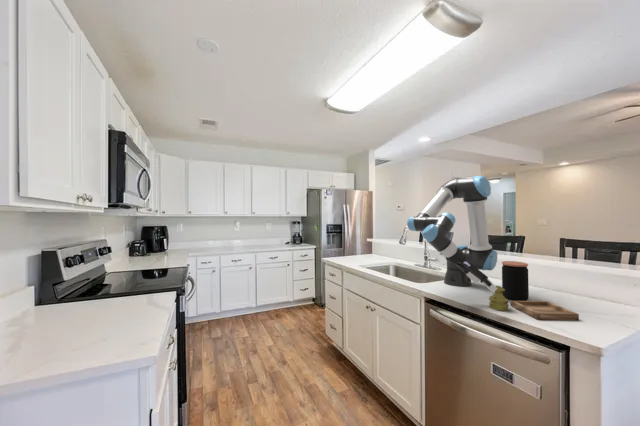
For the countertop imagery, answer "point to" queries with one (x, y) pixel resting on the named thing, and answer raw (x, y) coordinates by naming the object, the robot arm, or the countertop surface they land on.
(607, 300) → the countertop surface
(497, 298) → the olive green tiered piece
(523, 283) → the coffee jar
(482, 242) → the robot arm
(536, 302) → the tray
